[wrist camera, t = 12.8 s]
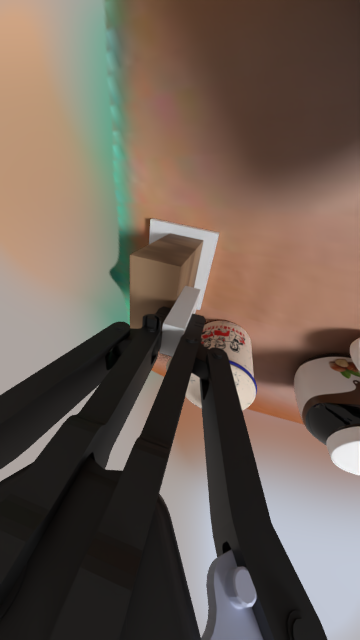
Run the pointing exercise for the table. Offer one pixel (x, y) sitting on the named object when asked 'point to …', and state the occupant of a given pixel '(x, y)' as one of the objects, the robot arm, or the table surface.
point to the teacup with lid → (239, 357)
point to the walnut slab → (161, 274)
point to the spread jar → (332, 404)
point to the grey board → (210, 237)
